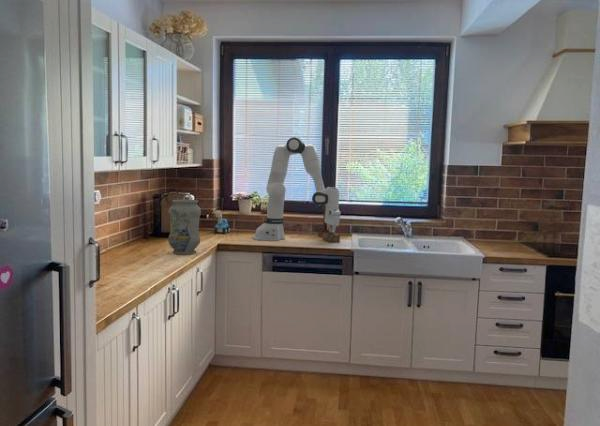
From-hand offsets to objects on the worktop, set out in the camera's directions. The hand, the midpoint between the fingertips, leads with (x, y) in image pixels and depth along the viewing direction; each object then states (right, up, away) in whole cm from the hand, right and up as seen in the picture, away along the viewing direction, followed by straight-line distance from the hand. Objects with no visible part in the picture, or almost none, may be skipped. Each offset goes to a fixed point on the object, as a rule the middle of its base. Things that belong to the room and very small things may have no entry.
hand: (331, 231), depth 337 cm
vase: (-87, -10, -55) cm, 103 cm away
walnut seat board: (0, -7, +1) cm, 7 cm away
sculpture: (-2, -5, +20) cm, 21 cm away
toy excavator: (-78, -2, +20) cm, 81 cm away
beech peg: (0, -7, +1) cm, 7 cm away
